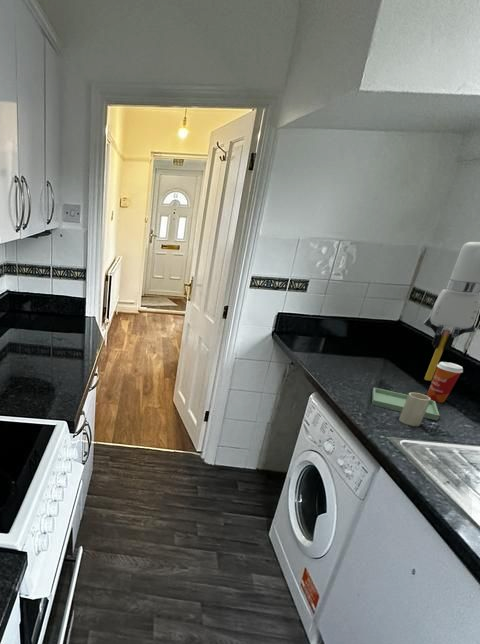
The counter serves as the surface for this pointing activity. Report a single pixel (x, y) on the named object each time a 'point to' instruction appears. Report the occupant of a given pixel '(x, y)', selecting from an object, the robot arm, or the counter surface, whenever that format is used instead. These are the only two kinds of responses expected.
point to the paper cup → (444, 381)
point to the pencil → (437, 355)
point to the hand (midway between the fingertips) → (440, 347)
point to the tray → (399, 402)
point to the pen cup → (414, 409)
